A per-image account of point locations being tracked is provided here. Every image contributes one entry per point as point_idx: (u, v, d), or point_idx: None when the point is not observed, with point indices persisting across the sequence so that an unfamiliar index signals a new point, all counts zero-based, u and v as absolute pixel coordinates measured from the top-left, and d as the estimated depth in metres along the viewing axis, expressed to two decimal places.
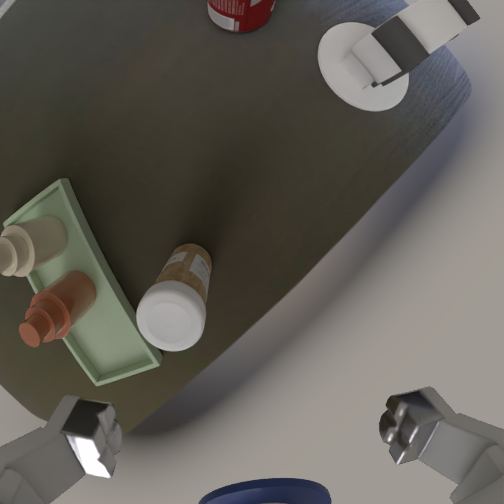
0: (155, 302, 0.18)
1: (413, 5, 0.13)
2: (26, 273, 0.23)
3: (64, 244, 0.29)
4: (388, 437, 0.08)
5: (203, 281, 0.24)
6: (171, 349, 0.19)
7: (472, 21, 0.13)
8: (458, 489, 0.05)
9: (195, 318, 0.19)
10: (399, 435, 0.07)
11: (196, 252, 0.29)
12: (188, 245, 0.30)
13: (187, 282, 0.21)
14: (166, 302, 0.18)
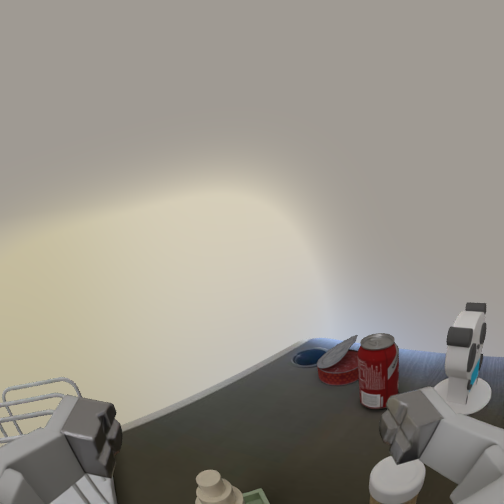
0: (386, 462, 0.18)
1: (455, 320, 0.36)
2: None
3: None
4: (388, 437, 0.08)
5: None
6: (403, 489, 0.15)
7: (483, 307, 0.36)
8: (458, 489, 0.05)
9: (417, 462, 0.17)
10: (399, 435, 0.07)
11: None
12: None
13: None
14: None
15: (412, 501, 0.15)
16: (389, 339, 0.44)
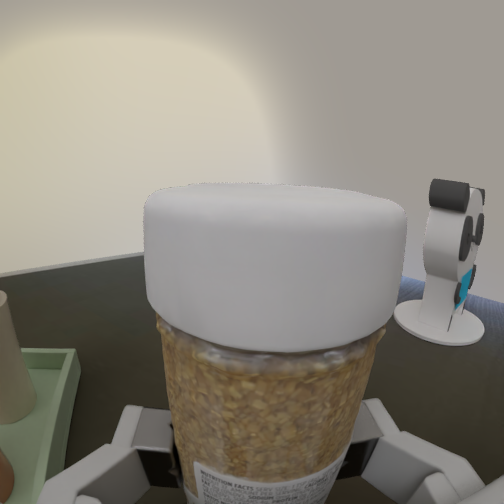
0: None
1: None
2: None
3: (17, 410, 0.12)
4: None
5: None
6: (270, 199, 0.03)
7: (481, 191, 0.26)
8: None
9: (368, 195, 0.05)
10: None
11: None
12: None
13: None
14: (278, 184, 0.07)
15: (338, 396, 0.04)
16: None
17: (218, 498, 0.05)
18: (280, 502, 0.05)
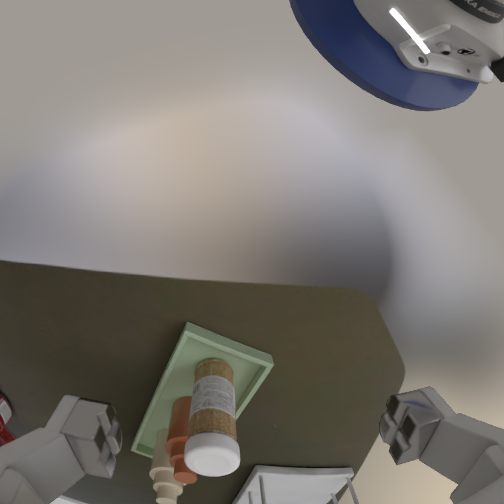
0: (210, 474, 0.20)
1: None
2: None
3: (165, 432, 0.34)
4: (388, 437, 0.08)
5: (189, 419, 0.25)
6: (226, 452, 0.20)
7: None
8: (457, 489, 0.05)
9: (190, 458, 0.20)
10: (399, 435, 0.07)
11: None
12: None
13: None
14: (202, 472, 0.20)
15: (211, 424, 0.22)
16: None
17: (231, 407, 0.26)
18: (219, 403, 0.25)
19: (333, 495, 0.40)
